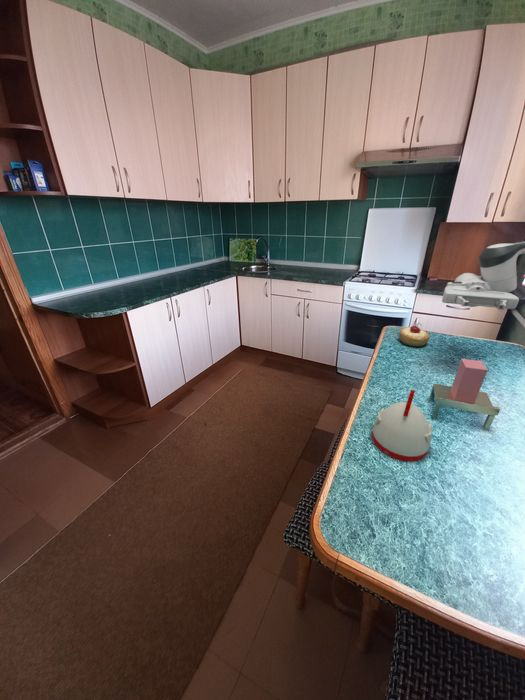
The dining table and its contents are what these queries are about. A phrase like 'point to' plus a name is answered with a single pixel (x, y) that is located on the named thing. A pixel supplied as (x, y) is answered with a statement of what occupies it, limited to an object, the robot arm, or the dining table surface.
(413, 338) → the pastry
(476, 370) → the pink carton
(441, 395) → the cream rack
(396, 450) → the kitchen timer
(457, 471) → the dining table surface
